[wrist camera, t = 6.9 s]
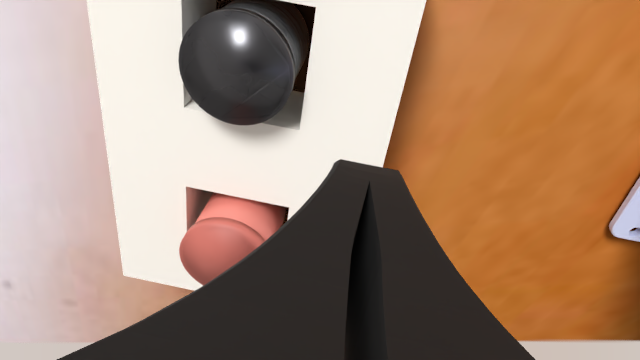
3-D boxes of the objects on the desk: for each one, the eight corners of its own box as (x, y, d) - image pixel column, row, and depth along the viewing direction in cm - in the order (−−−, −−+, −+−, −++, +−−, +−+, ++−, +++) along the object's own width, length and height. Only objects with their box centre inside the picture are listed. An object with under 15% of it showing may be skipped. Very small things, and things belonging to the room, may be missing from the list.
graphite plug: (318, -3, 17) (299, 23, 14) (305, 92, 19) (286, 134, 16) (218, -21, 17) (176, 0, 14) (216, 75, 19) (180, 114, 16)
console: (428, -50, 16) (435, -37, 13) (348, 271, 25) (342, 321, 22) (130, -104, 17) (72, -102, 14) (154, 231, 25) (123, 275, 22)
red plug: (291, 181, 21) (272, 235, 18) (283, 243, 23) (265, 302, 20) (211, 165, 21) (177, 216, 18) (210, 228, 23) (180, 283, 20)
